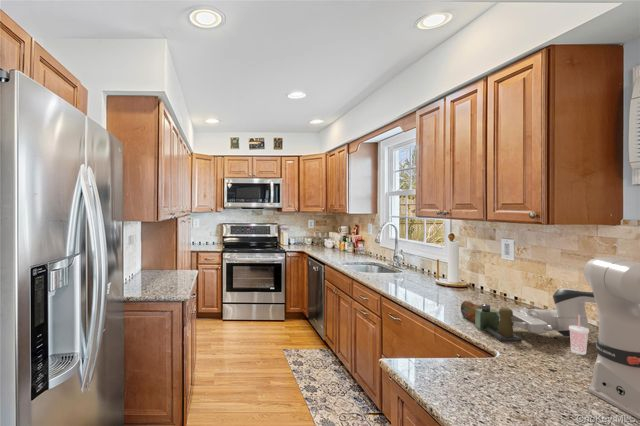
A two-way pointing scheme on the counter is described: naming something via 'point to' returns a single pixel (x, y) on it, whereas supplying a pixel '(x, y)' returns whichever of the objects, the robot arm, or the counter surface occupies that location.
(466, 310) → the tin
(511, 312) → the cork
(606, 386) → the robot arm
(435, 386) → the counter surface
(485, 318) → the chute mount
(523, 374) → the counter surface
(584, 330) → the beverage cup
